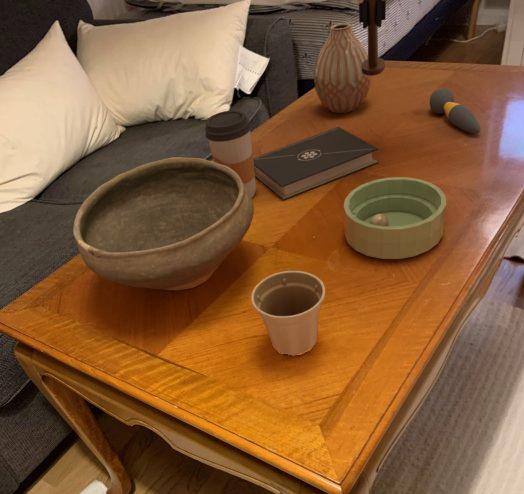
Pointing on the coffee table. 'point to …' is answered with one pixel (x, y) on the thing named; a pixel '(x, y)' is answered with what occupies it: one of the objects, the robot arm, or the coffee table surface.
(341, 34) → the vase
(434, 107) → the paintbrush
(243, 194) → the bowl
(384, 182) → the green round dish
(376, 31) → the stick
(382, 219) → the bead
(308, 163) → the book
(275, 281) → the flower pot
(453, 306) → the coffee table surface
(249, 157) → the coffee cup
